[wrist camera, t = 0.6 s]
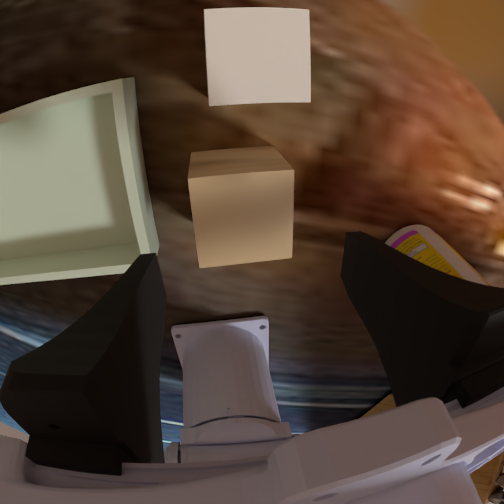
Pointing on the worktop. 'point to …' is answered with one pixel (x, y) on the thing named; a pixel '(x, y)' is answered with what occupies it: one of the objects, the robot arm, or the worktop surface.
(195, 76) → the worktop surface
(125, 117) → the tote tray
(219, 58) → the cream box
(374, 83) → the worktop surface
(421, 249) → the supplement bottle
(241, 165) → the oak block
